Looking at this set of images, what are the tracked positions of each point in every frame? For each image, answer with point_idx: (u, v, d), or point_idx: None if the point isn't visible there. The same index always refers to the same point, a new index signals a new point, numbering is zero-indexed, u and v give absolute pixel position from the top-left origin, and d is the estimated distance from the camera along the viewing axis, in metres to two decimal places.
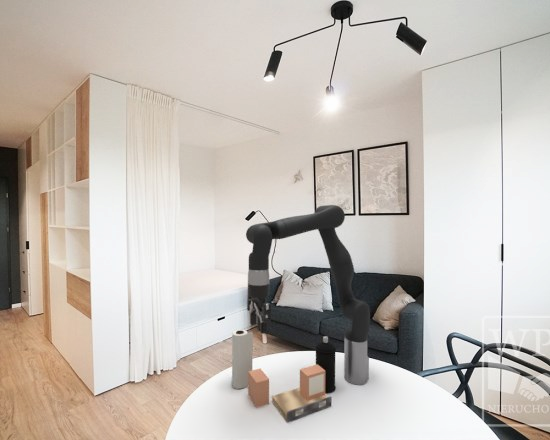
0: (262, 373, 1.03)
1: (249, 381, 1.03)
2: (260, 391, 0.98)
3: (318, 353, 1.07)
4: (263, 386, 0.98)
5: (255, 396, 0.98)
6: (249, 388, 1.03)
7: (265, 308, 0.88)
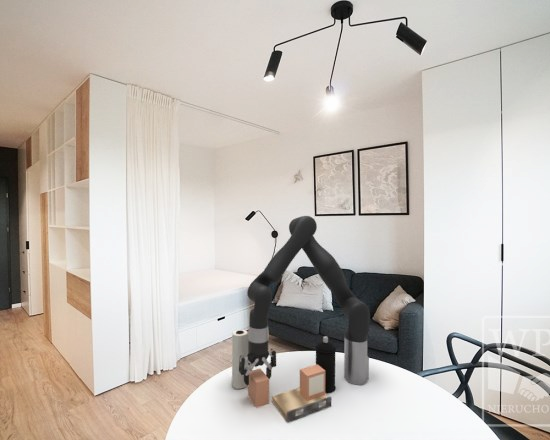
0: (262, 373, 1.03)
1: (249, 381, 1.03)
2: (260, 391, 0.98)
3: (318, 353, 1.07)
4: (263, 386, 0.98)
5: (255, 396, 0.98)
6: (249, 388, 1.03)
7: None
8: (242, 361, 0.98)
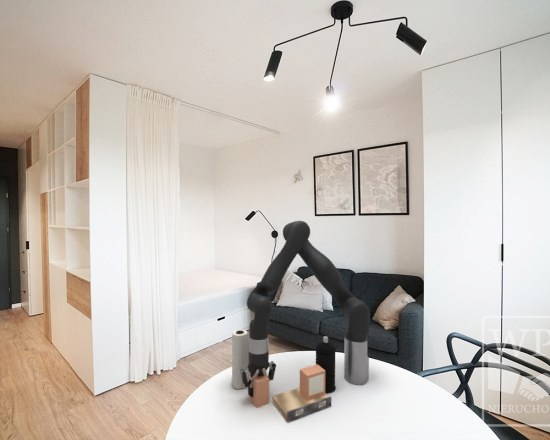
0: None
1: None
2: (260, 391, 0.98)
3: (318, 353, 1.07)
4: (263, 386, 0.98)
5: (255, 395, 0.98)
6: None
7: None
8: (243, 375, 0.98)
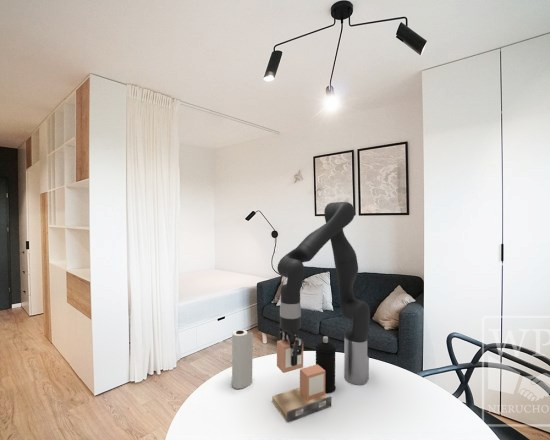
0: None
1: None
2: (278, 352, 0.97)
3: (318, 353, 1.07)
4: (280, 350, 0.96)
5: None
6: None
7: (298, 345, 0.92)
8: (279, 330, 1.03)
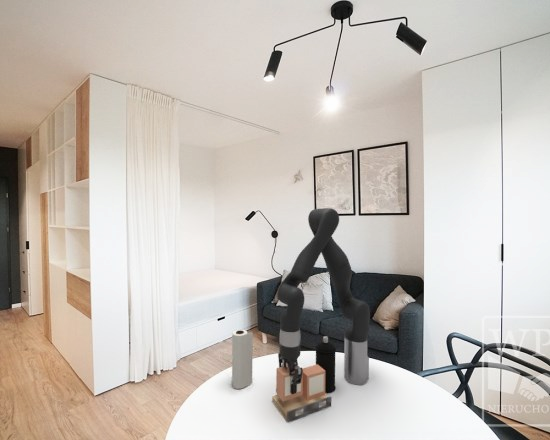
0: (293, 371, 0.96)
1: None
2: (278, 380, 0.97)
3: (318, 353, 1.07)
4: (280, 377, 0.96)
5: None
6: None
7: (297, 374, 0.92)
8: (278, 356, 1.03)
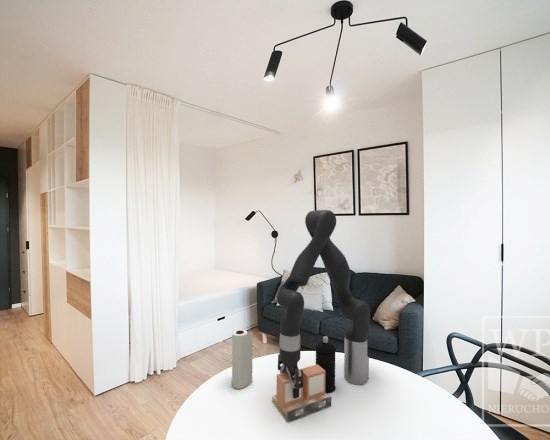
0: (293, 377, 0.96)
1: None
2: (278, 386, 0.97)
3: (318, 353, 1.07)
4: (280, 384, 0.96)
5: None
6: None
7: (298, 375, 0.91)
8: (278, 357, 1.03)
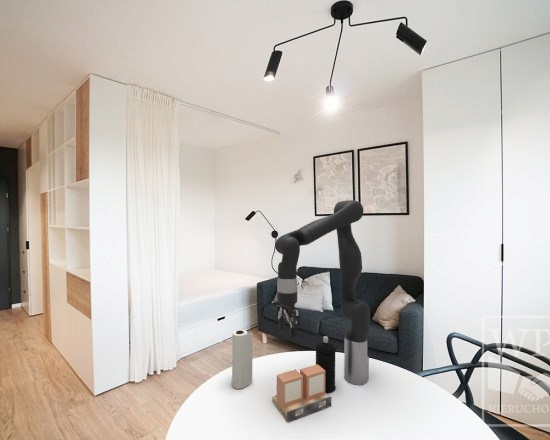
0: (293, 377, 0.96)
1: None
2: (278, 386, 0.97)
3: (318, 353, 1.07)
4: (280, 384, 0.96)
5: None
6: None
7: (295, 314, 0.95)
8: (276, 303, 1.07)
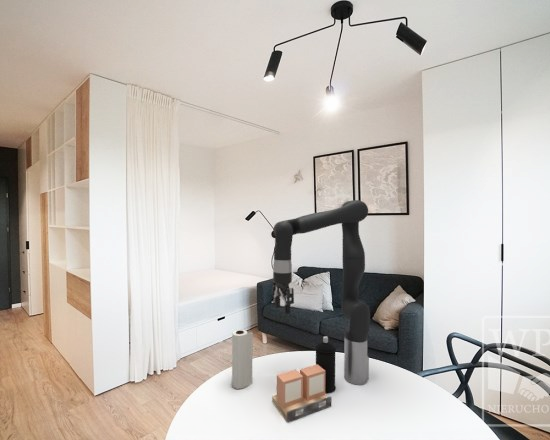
0: (293, 377, 0.96)
1: None
2: (278, 386, 0.97)
3: (318, 353, 1.07)
4: (280, 384, 0.96)
5: None
6: None
7: (289, 292, 1.04)
8: (272, 284, 1.16)
